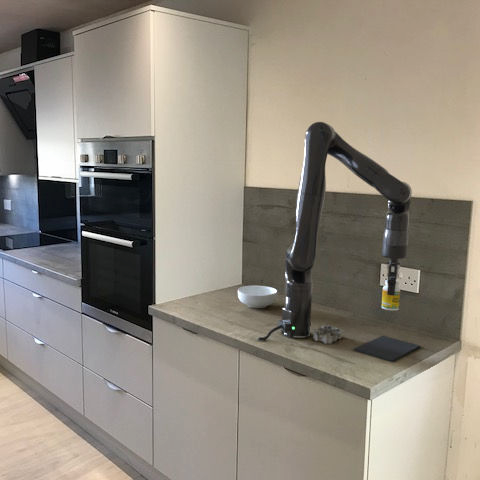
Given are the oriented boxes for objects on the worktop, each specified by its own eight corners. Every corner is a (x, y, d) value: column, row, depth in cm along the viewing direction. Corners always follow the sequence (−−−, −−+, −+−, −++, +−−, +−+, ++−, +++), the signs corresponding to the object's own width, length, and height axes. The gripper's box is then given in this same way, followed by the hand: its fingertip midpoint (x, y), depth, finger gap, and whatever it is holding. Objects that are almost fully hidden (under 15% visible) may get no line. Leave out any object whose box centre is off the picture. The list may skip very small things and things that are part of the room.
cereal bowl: (248, 298, 238) (248, 283, 237) (282, 304, 228) (283, 288, 227) (230, 306, 224) (230, 290, 223) (266, 313, 215) (267, 297, 214)
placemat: (392, 361, 166) (392, 360, 166) (354, 350, 175) (354, 348, 175) (420, 347, 179) (420, 345, 178) (383, 337, 188) (383, 335, 188)
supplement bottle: (387, 305, 179) (389, 278, 178) (402, 309, 175) (404, 281, 173) (377, 307, 176) (380, 280, 175) (392, 311, 172) (394, 283, 170)
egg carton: (328, 345, 180) (329, 333, 179) (309, 339, 185) (310, 328, 185) (344, 338, 187) (345, 327, 186) (325, 332, 192) (326, 322, 192)
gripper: (383, 238, 180) (379, 286, 183) (381, 245, 167) (377, 296, 170) (407, 240, 177) (403, 289, 180) (407, 247, 164) (403, 299, 167)
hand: (391, 292), depth 175 cm, fingers closed on supplement bottle, 5 cm apart
